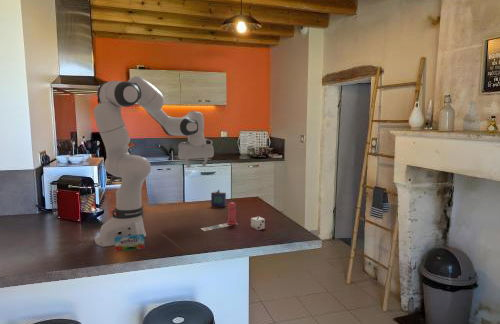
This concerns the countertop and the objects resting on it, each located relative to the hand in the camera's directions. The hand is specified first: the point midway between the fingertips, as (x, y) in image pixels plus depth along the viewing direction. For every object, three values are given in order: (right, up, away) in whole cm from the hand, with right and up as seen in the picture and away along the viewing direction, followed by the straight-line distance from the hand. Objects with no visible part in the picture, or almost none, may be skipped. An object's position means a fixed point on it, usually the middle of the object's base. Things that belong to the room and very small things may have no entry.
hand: (196, 166), depth 193 cm
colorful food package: (-22, -35, -43) cm, 59 cm away
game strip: (+14, -31, -14) cm, 37 cm away
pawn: (+20, -30, -10) cm, 37 cm away
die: (+33, -31, -14) cm, 48 cm away
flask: (+10, -26, +28) cm, 39 cm away
